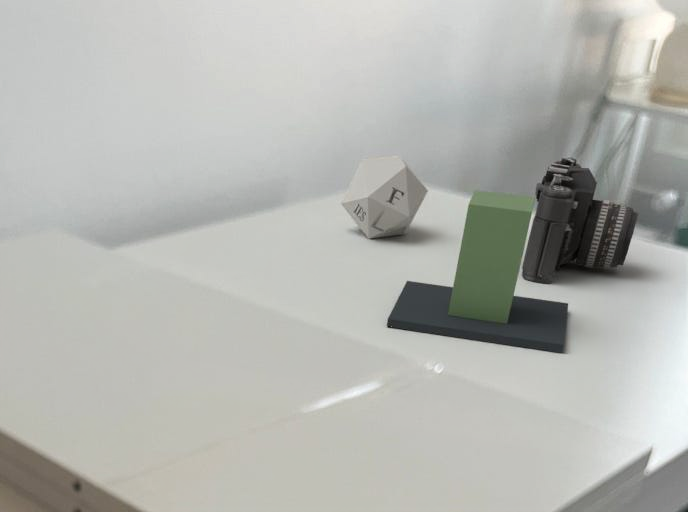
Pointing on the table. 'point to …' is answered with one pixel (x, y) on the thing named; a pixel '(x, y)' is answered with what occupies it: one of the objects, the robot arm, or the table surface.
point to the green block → (490, 256)
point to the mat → (521, 329)
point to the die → (384, 196)
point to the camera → (575, 224)
